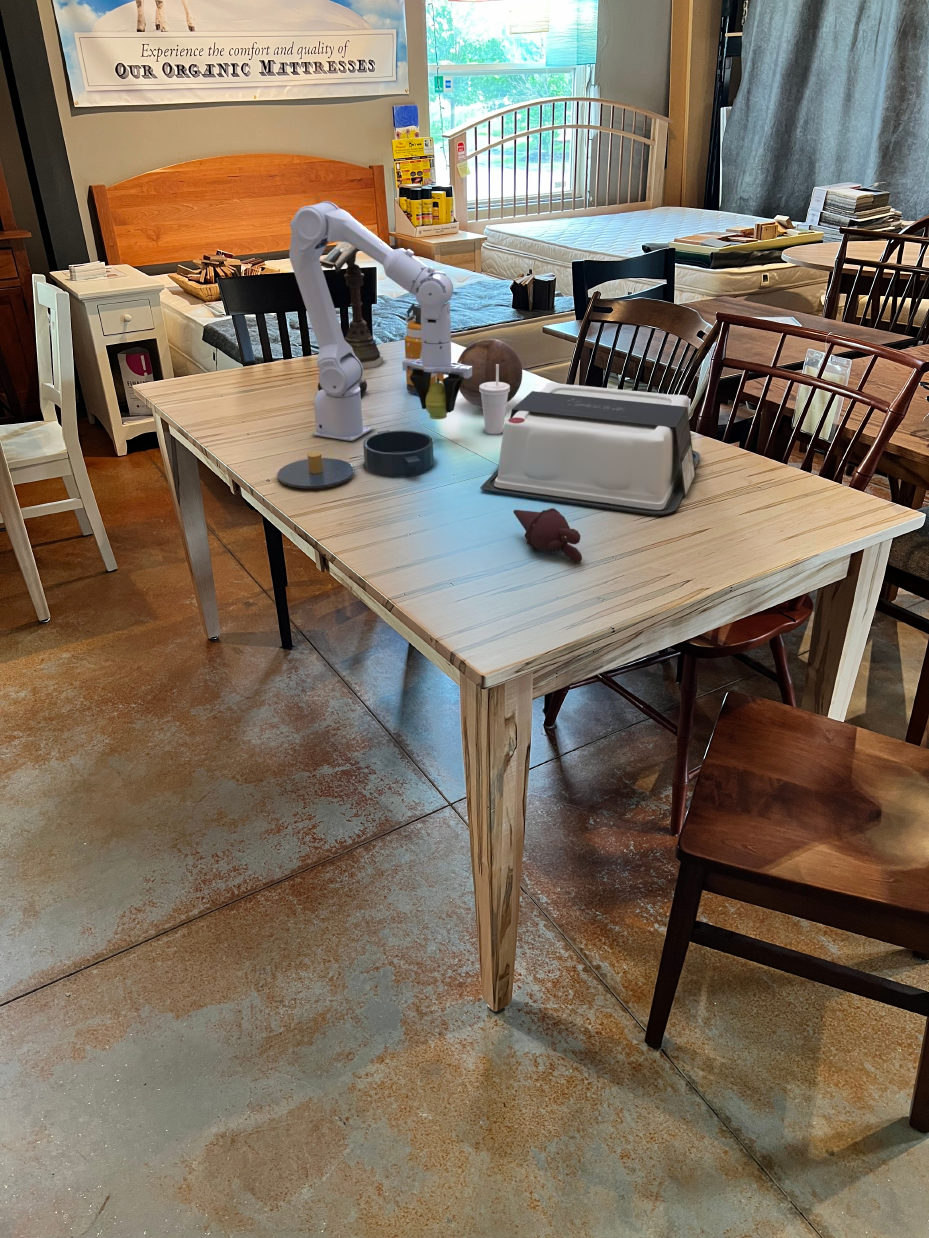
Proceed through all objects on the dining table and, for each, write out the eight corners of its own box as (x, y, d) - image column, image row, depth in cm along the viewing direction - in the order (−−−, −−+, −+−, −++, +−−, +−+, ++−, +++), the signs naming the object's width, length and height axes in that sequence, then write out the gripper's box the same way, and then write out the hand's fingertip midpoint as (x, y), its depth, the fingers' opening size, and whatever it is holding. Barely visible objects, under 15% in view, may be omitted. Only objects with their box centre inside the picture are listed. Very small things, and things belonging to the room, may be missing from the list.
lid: (287, 496, 154) (284, 472, 152) (271, 470, 166) (268, 447, 163) (364, 484, 159) (362, 460, 157) (343, 459, 170) (341, 437, 168)
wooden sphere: (525, 398, 203) (526, 332, 195) (517, 418, 190) (518, 349, 183) (462, 396, 205) (461, 331, 198) (450, 415, 193) (448, 347, 185)
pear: (421, 418, 175) (420, 379, 171) (433, 411, 179) (431, 373, 175) (443, 422, 173) (442, 382, 169) (454, 414, 177) (454, 375, 173)
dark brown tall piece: (334, 375, 222) (320, 226, 204) (315, 364, 232) (300, 221, 214) (392, 366, 229) (384, 221, 211) (371, 355, 239) (362, 216, 221)
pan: (381, 486, 158) (379, 463, 156) (352, 453, 173) (351, 431, 170) (448, 475, 162) (448, 452, 160) (415, 444, 177) (414, 423, 175)
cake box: (477, 492, 155) (477, 424, 148) (533, 434, 181) (535, 374, 175) (674, 520, 144) (683, 448, 137) (704, 454, 170) (712, 391, 163)
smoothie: (506, 437, 180) (507, 369, 173) (476, 435, 181) (476, 368, 174) (511, 427, 185) (512, 361, 178) (482, 425, 187) (482, 360, 179)
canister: (416, 398, 204) (412, 310, 194) (397, 387, 212) (393, 301, 202) (450, 393, 208) (448, 306, 197) (430, 382, 216) (427, 298, 206)
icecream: (493, 504, 134) (559, 544, 125) (529, 482, 137) (596, 520, 128) (499, 539, 139) (563, 580, 130) (533, 516, 142) (598, 555, 132)
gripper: (393, 341, 168) (396, 410, 175) (460, 349, 162) (461, 419, 169) (410, 333, 173) (413, 400, 180) (476, 340, 168) (476, 409, 175)
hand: (437, 409), depth 175 cm, fingers closed on pear, 5 cm apart
